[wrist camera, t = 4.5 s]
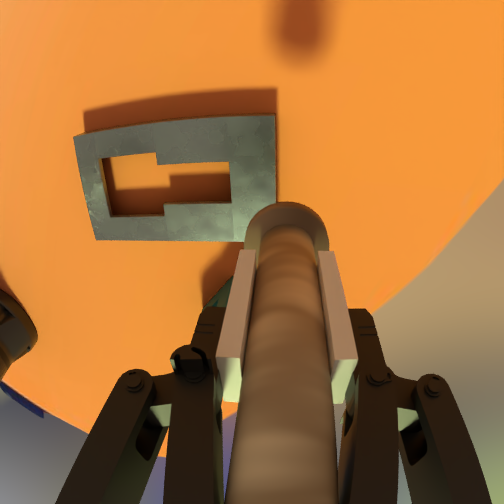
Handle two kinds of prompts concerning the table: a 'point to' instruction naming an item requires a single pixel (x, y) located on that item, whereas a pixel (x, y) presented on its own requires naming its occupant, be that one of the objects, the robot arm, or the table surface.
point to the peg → (285, 369)
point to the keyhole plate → (176, 152)
